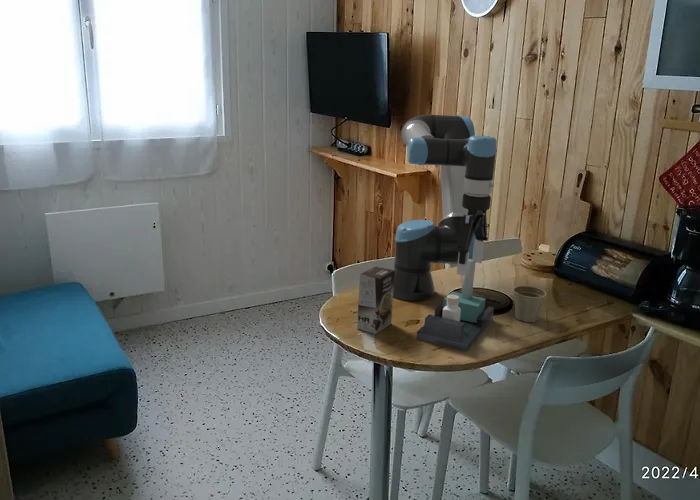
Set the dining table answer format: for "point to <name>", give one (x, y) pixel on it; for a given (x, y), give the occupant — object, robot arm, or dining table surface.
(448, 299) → the pepper shaker
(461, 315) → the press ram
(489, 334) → the dining table surface
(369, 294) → the coffee box
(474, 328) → the tray
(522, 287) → the flower pot
